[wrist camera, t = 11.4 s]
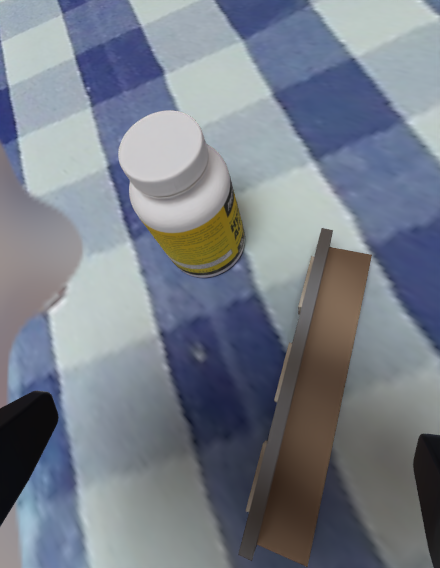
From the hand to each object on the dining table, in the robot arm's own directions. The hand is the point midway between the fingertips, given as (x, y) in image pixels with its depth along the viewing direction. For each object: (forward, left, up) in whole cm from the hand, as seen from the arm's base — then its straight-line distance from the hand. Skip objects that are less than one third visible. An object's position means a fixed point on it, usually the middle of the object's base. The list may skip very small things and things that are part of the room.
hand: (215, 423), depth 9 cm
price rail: (+3, -2, -13) cm, 13 cm away
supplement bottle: (+10, +7, -13) cm, 18 cm away
